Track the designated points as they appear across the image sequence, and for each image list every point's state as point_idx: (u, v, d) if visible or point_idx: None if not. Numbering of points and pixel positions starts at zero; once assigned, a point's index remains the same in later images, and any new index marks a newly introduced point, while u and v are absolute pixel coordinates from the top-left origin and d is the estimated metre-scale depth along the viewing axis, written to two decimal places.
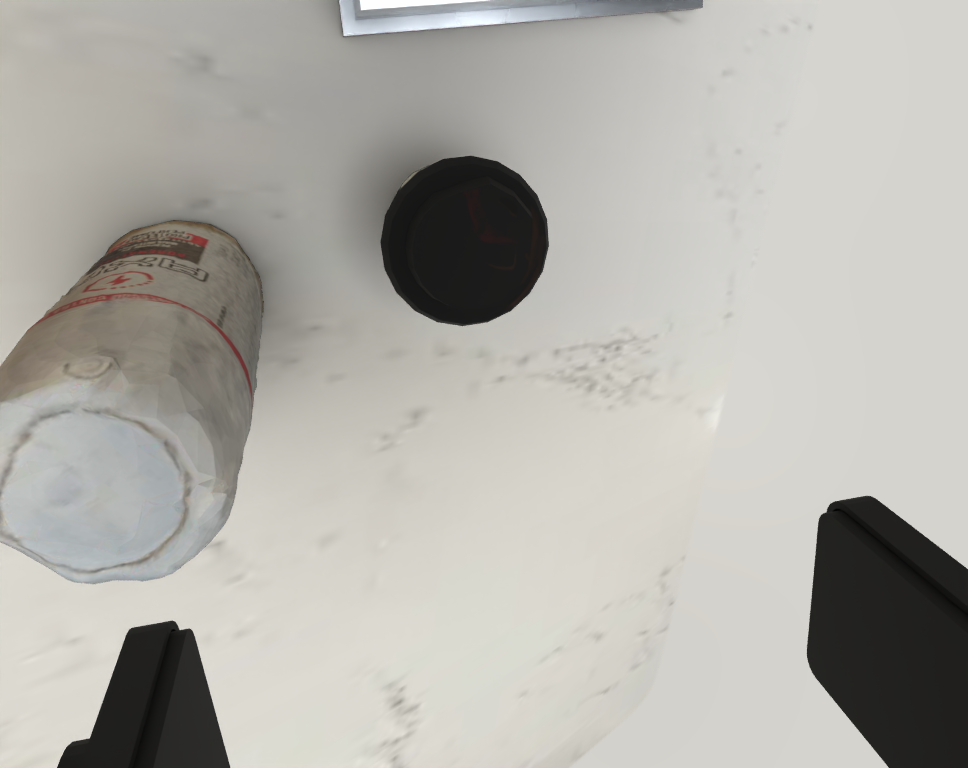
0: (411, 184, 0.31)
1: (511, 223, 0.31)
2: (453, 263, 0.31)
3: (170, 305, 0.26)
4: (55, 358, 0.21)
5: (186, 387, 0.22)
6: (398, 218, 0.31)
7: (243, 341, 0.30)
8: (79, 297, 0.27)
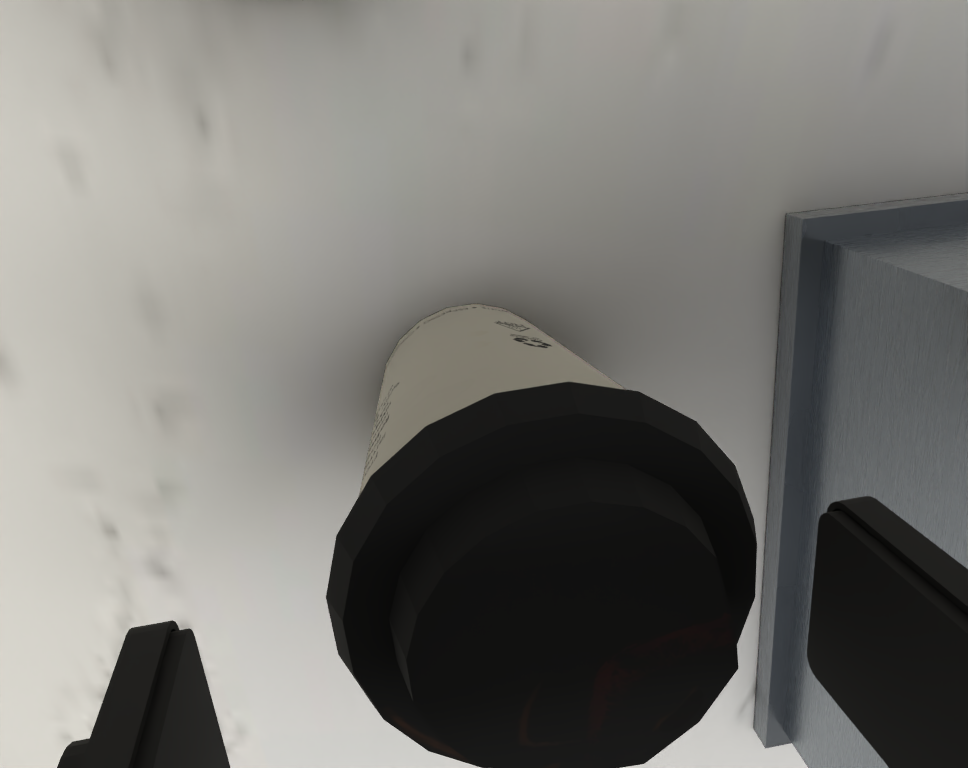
0: (718, 459, 0.12)
1: (637, 723, 0.12)
2: (545, 606, 0.11)
3: None
4: None
5: None
6: (648, 436, 0.11)
7: None
8: None
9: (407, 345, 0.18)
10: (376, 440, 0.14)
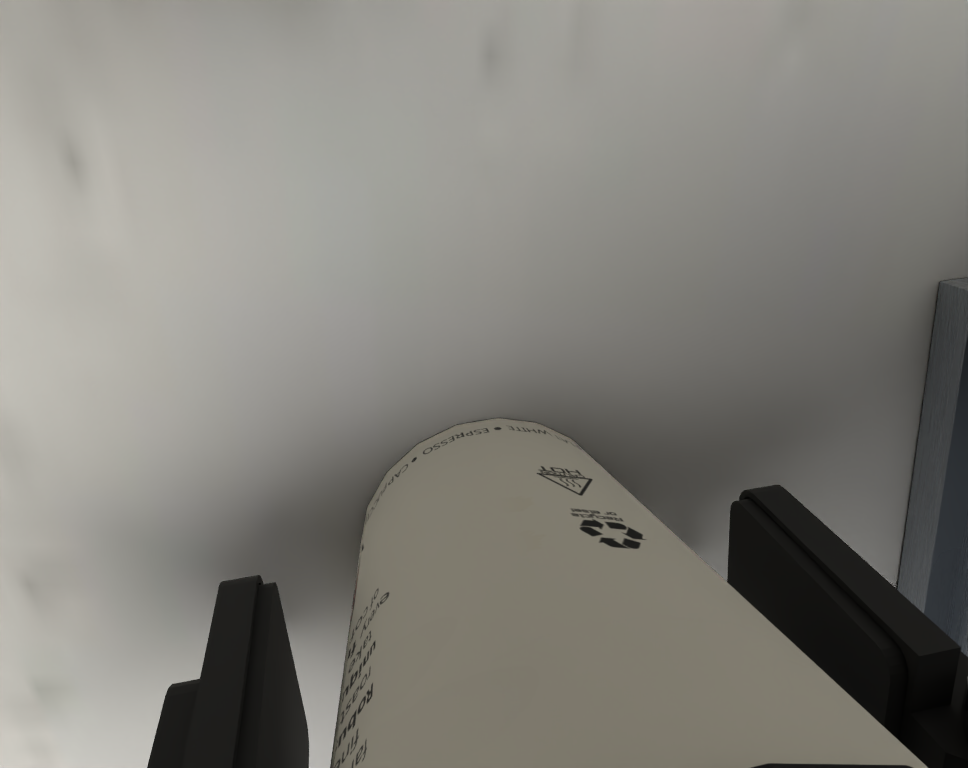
0: None
1: None
2: None
3: None
4: None
5: None
6: None
7: None
8: None
9: (399, 495, 0.12)
10: (350, 734, 0.08)
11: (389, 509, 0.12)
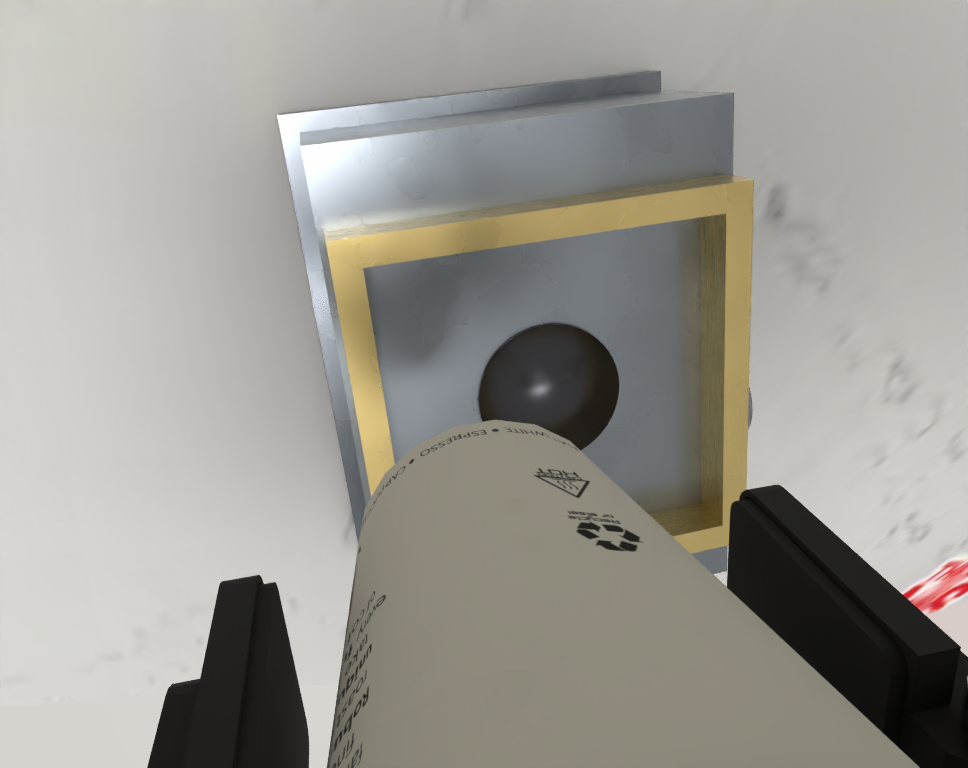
0: None
1: None
2: None
3: None
4: None
5: None
6: None
7: None
8: None
9: (397, 497, 0.12)
10: (346, 738, 0.08)
11: (386, 511, 0.12)
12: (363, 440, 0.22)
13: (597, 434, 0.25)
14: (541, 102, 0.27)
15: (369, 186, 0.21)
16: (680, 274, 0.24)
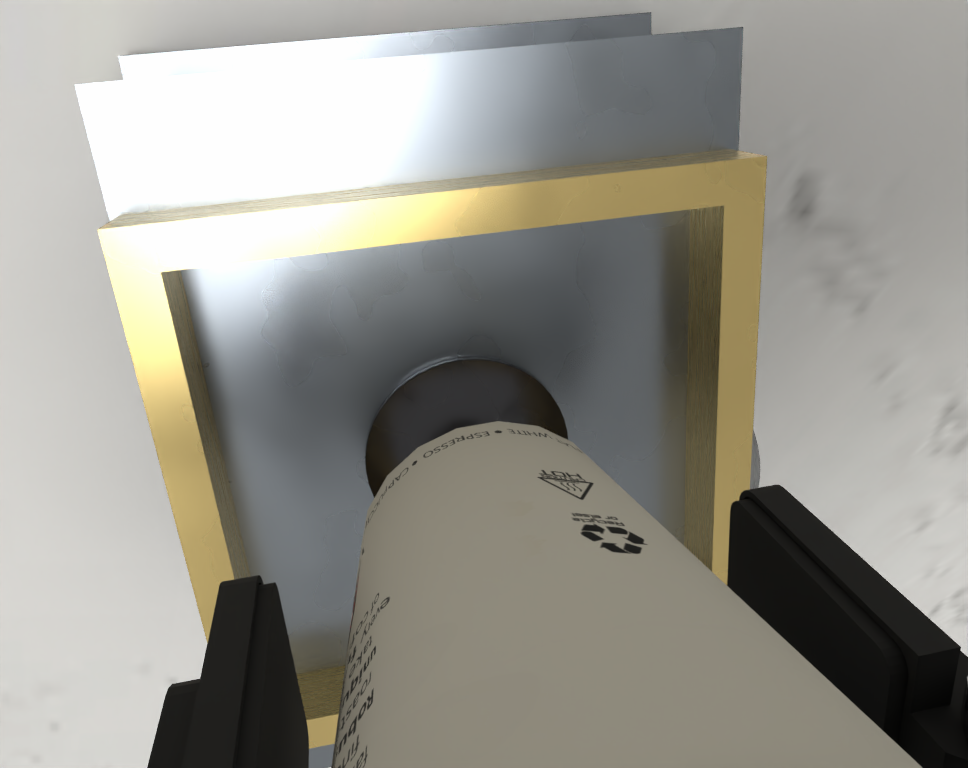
0: None
1: None
2: None
3: None
4: None
5: None
6: None
7: None
8: None
9: (399, 498, 0.12)
10: (351, 740, 0.08)
11: (389, 513, 0.12)
12: (178, 522, 0.15)
13: None
14: None
15: (186, 150, 0.14)
16: (658, 292, 0.17)
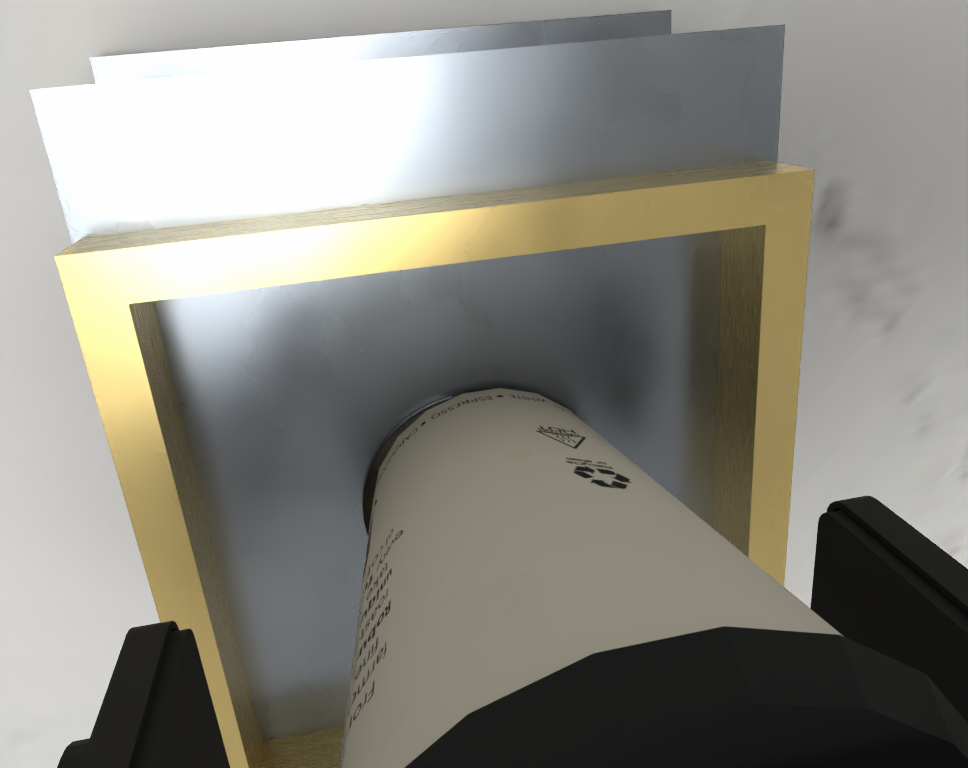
0: (966, 741, 0.07)
1: None
2: None
3: None
4: None
5: None
6: (870, 731, 0.06)
7: None
8: None
9: (410, 453, 0.13)
10: (371, 643, 0.09)
11: (401, 466, 0.13)
12: (152, 582, 0.13)
13: None
14: None
15: (159, 164, 0.12)
16: (687, 318, 0.15)
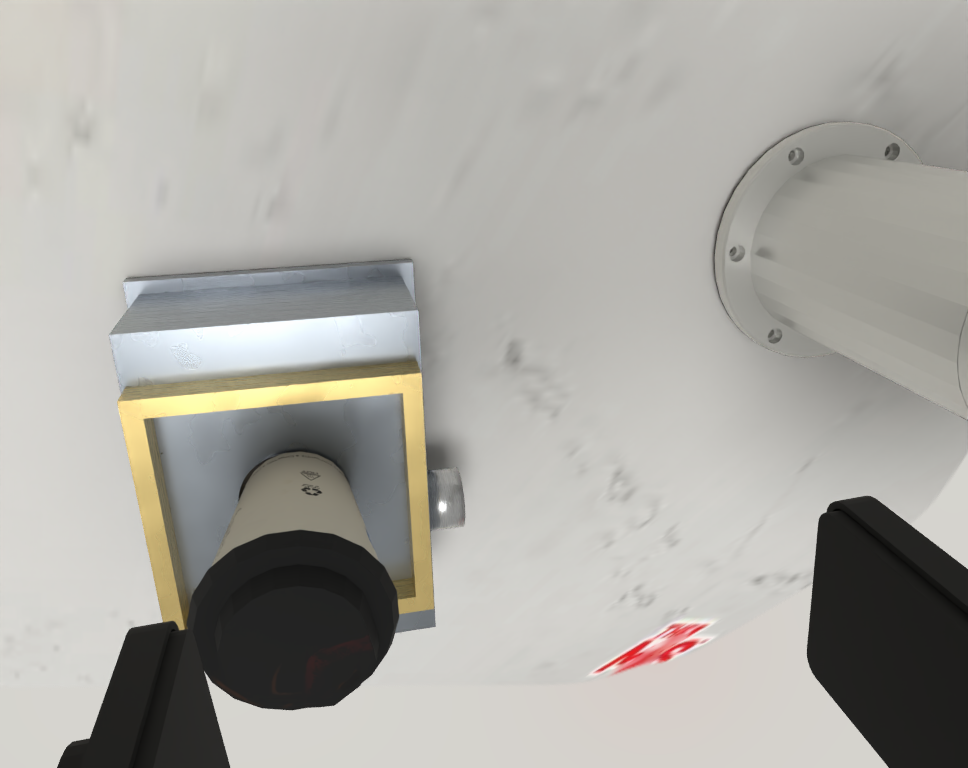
0: (371, 564, 0.26)
1: (329, 685, 0.26)
2: (281, 630, 0.25)
3: None
4: None
5: None
6: (333, 556, 0.25)
7: None
8: None
9: (254, 479, 0.32)
10: (222, 543, 0.28)
11: (250, 484, 0.32)
12: (145, 527, 0.32)
13: None
14: (322, 280, 0.38)
15: (157, 361, 0.31)
16: (386, 424, 0.34)
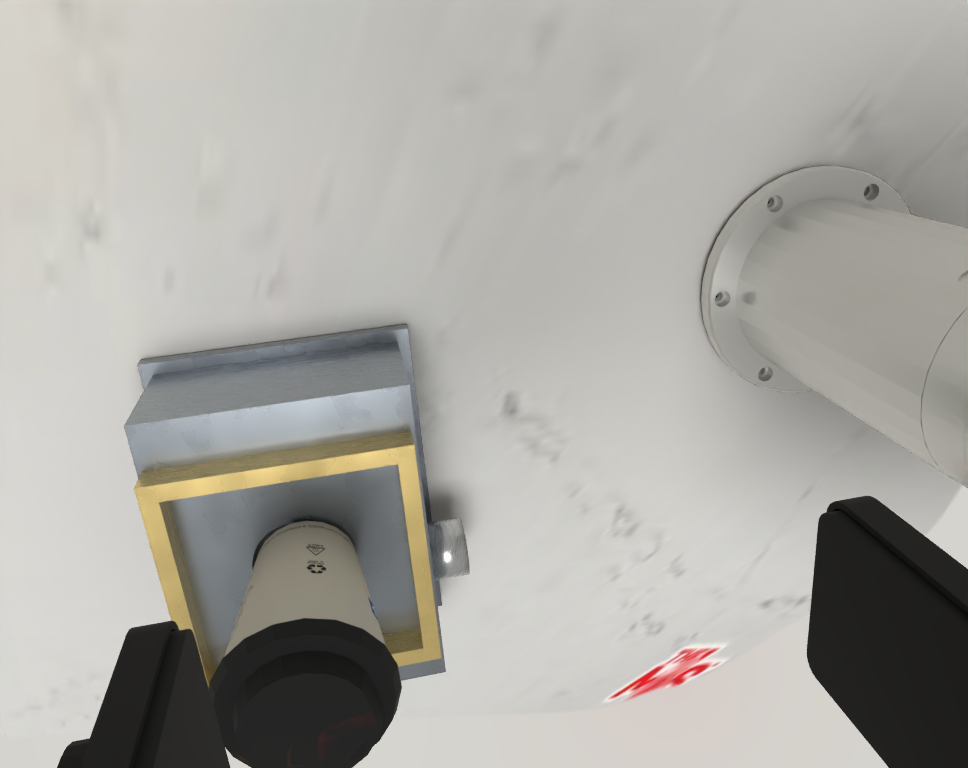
0: (372, 645, 0.28)
1: (339, 756, 0.28)
2: (291, 712, 0.27)
3: None
4: None
5: None
6: (335, 641, 0.28)
7: None
8: None
9: (265, 551, 0.35)
10: (236, 623, 0.31)
11: (261, 557, 0.34)
12: (166, 598, 0.35)
13: None
14: (322, 350, 0.40)
15: (169, 446, 0.34)
16: (386, 489, 0.36)
